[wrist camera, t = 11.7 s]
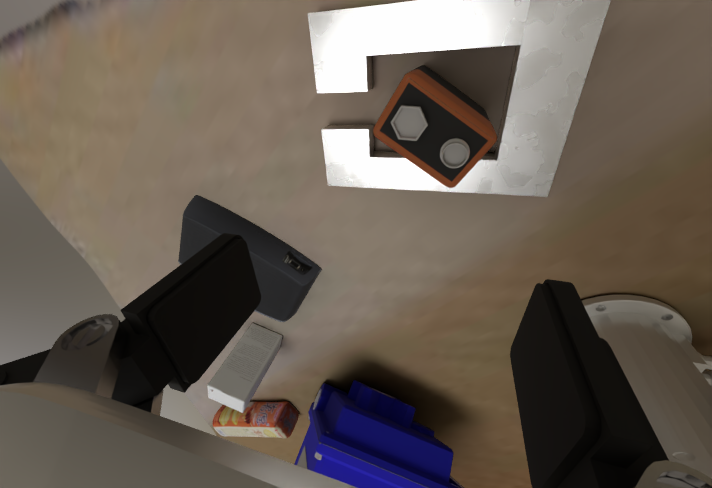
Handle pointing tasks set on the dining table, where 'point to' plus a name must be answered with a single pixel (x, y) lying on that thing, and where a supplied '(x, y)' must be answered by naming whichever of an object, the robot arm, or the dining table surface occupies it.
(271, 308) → the external hard drive
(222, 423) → the snack package
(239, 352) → the skincare box
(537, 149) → the plate
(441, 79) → the battery
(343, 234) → the dining table surface
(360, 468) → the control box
